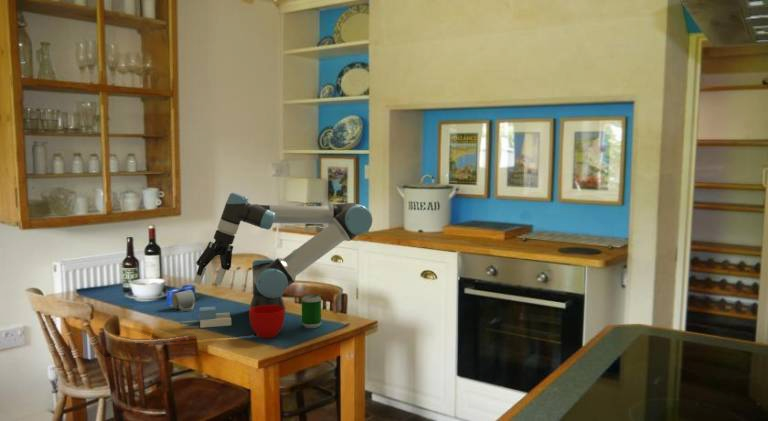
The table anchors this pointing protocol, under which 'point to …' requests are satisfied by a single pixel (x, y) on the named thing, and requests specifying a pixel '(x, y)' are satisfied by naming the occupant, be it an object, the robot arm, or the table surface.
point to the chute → (211, 321)
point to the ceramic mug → (184, 300)
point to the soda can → (311, 311)
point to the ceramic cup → (267, 320)
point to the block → (207, 313)
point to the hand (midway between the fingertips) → (207, 283)
